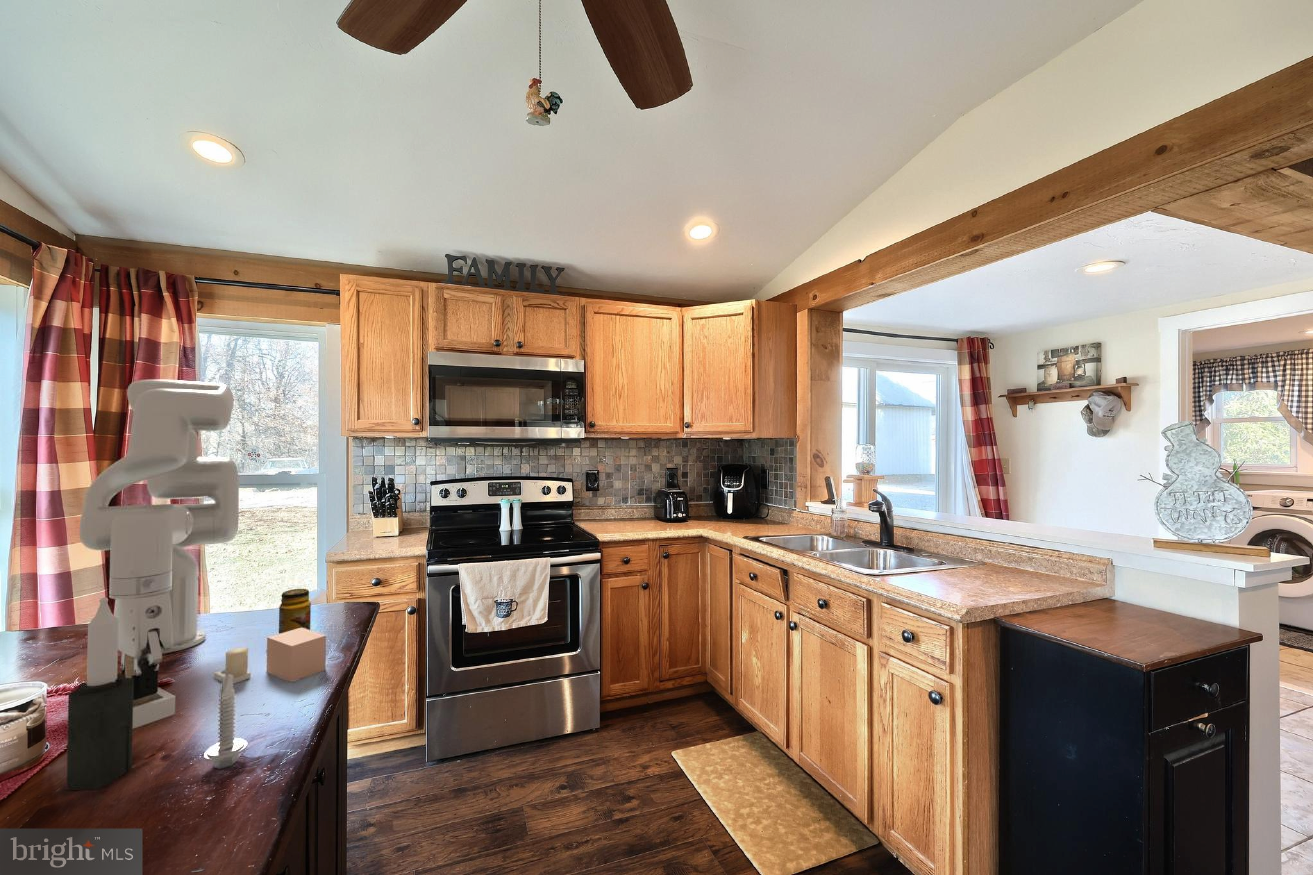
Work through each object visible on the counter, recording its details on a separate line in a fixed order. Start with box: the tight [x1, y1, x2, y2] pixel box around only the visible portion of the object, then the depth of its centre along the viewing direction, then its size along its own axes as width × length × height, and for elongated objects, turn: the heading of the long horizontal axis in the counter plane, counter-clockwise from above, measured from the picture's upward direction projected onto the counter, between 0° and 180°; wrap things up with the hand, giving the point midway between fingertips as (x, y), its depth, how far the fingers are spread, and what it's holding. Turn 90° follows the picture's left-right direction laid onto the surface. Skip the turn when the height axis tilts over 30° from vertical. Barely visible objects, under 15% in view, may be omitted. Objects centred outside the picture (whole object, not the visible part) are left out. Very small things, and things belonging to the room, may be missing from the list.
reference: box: [213, 647, 252, 685], centre depth 103 cm, size 6×4×6 cm, turn 62°
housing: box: [266, 628, 327, 683], centre depth 107 cm, size 9×6×7 cm
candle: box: [66, 597, 134, 791], centre depth 73 cm, size 5×5×25 cm
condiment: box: [265, 588, 312, 653], centre depth 121 cm, size 7×8×12 cm
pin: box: [124, 650, 153, 706], centre depth 88 cm, size 3×3×9 cm
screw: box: [203, 674, 248, 770], centre depth 77 cm, size 13×5×5 cm
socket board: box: [133, 686, 176, 730], centre depth 90 cm, size 13×7×3 cm, turn 62°
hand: (139, 692), depth 88 cm, fingers closed on pin, 3 cm apart
